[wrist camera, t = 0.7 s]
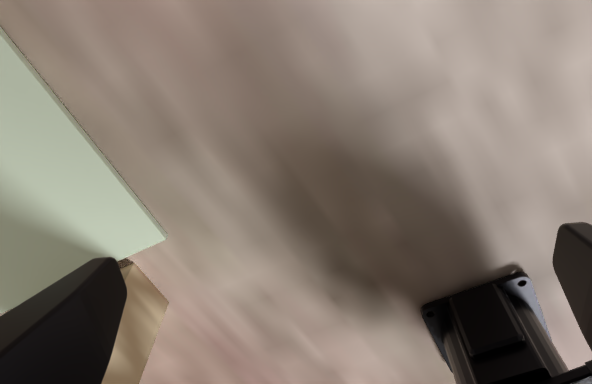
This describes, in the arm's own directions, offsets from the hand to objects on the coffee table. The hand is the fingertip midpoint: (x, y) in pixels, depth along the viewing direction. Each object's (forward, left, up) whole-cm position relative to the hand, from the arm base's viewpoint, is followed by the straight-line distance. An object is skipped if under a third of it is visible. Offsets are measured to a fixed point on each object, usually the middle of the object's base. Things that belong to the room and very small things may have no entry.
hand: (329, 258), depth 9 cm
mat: (+3, +19, -14) cm, 23 cm away
